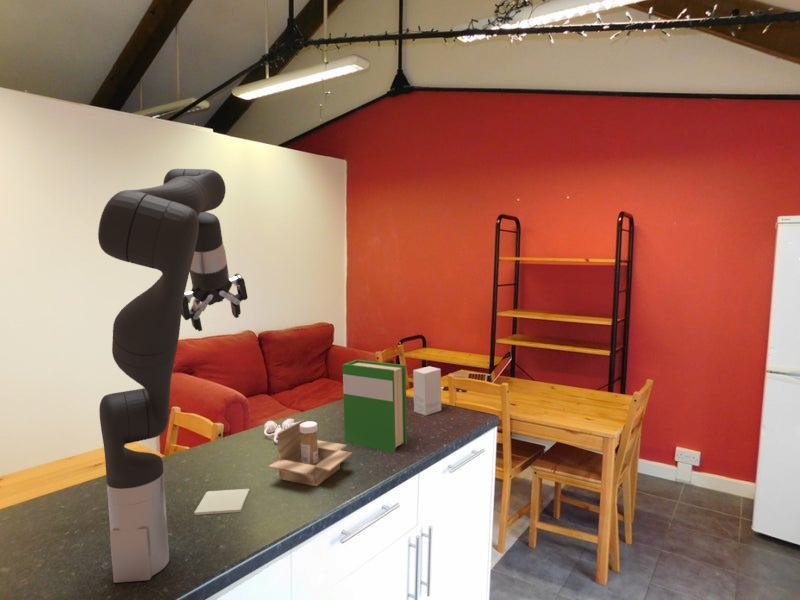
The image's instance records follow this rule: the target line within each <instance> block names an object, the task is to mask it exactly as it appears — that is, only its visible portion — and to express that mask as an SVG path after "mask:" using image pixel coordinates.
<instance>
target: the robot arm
mask: <svg viewBox="0 0 800 600" xmlns="http://www.w3.org/2000/svg"><path fill="white" fill-rule="evenodd" d="M162 183H163V184H161V185H157V186H153V187H148V188H147V187H146V188H140V189H125V190H121V191H119V192H117V193H115V194H113V196H112V197H111V198H110V199H109V200H108V201H107V203H106V204H105V206H104V208H103V211H102V212H101V215H100V216H101V217H100V219H99V224H98V230H97V231H98V234H97V235H98V236H97V240H98V244H99V247H100V249H101V250H102V251H103V252H104V253H105V254H106V255H108V256H110V257H111V258H114V259H117V260H118V261H119V260H120V261H122V262H126V263H130V264H133V265H138V266H142V267H147V268H150V269H154V270H158V271H159V272H161V273H162V274H161V276H160V277H159V278H158V279H157V281H155V283H154V284H152V285H151V286H150V287H149V288H148V289H146V290H145V291H144V292H142V293H140V294H139V295H138V296H136V297H134V298H133V299H132V300H131V301H130V302H128V303H127V304H126V305H125V306H124V307H122V308H121V310H119V312H118V313H117V315H116V317H115V318H114V321H113V325H112V326H113V327H112V345H111V347H112V348H111V352H112V357H113V360H114V362H115V363H116V366H117V367H118V368H119V369H120V371H122V372H123V373H124V374H125V375H126V376H127V377H129V378H130V379H132V381H133V380H134V382H136V383H138V384H139V385H140V386H142V387H143V388H139V389H138V388H137V389H133V390H125V391H119V392H114V393H113V392H112V393H108V394H106V395H104V396H103V397H102V399H101V400H100V403H99V409H98V411H99V424H100V430H101V437H102V444H103V449H104V450H103V451H104V461H105V462H104V463H105V478H106V490H107V491H106V492H107V503H108V505H107V506H108V507H107V508H108V516H109V519H108V520H109V529H110V530H109V531H110V532H109V538H110V539H109V540H110V551H111V565H112V577H113V583H115V584H117V583H127V582H131V583H132V582H141V581H150V580H151V579H152V577H153V576H154V575H156V574H158V573H159V572H161V571H163V570H164V569H165V567H167V566H168V565H169V562H170V552H169V551H170V550H169V549H170V548H169V537H168V523H167V522H168V521H167V508H166V507H167V504H166V492H165V474H164V473H165V472H164V461H163V459H162V457H161V456H160V455H158V454H156V453H151V452H147V451H146V452H145V451H144V452H143V451H135V450H132V449H129V448H127V447H125V445H127V444H130V443H131V444H132V443H137V442H140V441H145V440H150V439H153V438H157V437H159V436H162V434H164V432H165V431H166V430H167V428H168V425H169V424H168V423H169V419H170V402H171V401H170V400H171V398H170V397H171V385H172V384H171V383H172V375H173V369H174V365H175V358H176V357H177V356H176V354H177V351H178V346H179V345H178V344H179V337H180V328H181V320H182V317H183V319H184V320H185V321H189V320H191V326H192V327H193V329H195V331H198V332H201V331H203V327H202V326H203V325H202V322H201V318H200V316H201V314H202V313H203V312H205V310H206V308H207V307H208V306H212V305H214V304H216V303H221V302H223V301H224V299H225V300H227V301H229V302H230V309H231V314H232V316H233V317H234V318H235V319H237V318H239V317H240V315H241V314H242V313H241V302H242V301H246V300H247V299H248V297H249V296H248V291H247V287H246V281H245V279H244V278H243V277H242V276H241V274H239V273H235V274H234V276H233V277H231V278H230V275H229V268H228V260H227V255H226V254H227V253H226V249H225V246H224V242H223V235H222V234H223V233H222V228H221V223H220V222H221V221H220V219H219V218H218V217H217V216H216V215H215V214H214V213H210V211H213V210H215V209H217V208H218V207H219V206H221V204H222V203H224V199H225V196H226V184H225V180H224V179H223V177H222V175H221V174H220V173H219V172H218V171H215V170H214V169H207V168H203V169H202V168H201V169H200V168H173V169H170V170H169V171H167V173H166V174H165V176H164V178H163V182H162ZM189 277H190V281H191V285H192V288H191V290H190V291H186V288H187V283H188V281H189V280H188V279H189ZM233 285H234V286H235V287H236V290H237V294H234V293H233V292H231V291H230V290H231V289H232V286H233ZM193 298H194V299H193ZM192 299H193V301H192ZM191 301H192V305H191V307H189V304H191Z"/></svg>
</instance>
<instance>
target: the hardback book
mask: <svg viewBox="0 0 800 600" xmlns="http://www.w3.org/2000/svg"><path fill="white" fill-rule="evenodd" d="M406 367H407V365H406V364H398V363H390V362H389V363H388V362H381V361H373V360H363V359H354V360H352V361H349V362H346V363H343V364H342V385H343V386H342V388H343V417H344V418H343V420H344V423H343V424H344V425H343V426H344V442H345V443H350V444H354V445H357V446H358V445H359V446H361V447H362V446H363V447H367V448H372V449H375V450H376V449H377V450H381V451H386V452H390V453H395V452H396V451H397V448H398V446H400V445H403V446H406V445H408V432H407V431H408V426H407V425H408V423H407V421H408V419H407V418H408V417H407V416H408V415H407V376H406V375H407V371H406V370H407V369H406Z"/></svg>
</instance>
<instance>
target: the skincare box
mask: <svg viewBox="0 0 800 600" xmlns="http://www.w3.org/2000/svg"><path fill="white" fill-rule="evenodd" d="M441 371H442V369H441V368H439V367H433V366H430V365H429V366H426V367H420V368H416V369H413V372H412V375H413V412H414V413H417V414H419V415H423V416H429V415H431V414H435V413H438V412H441V411H442V381H441V380H442V379H441V378H442V376H441V375H442V374H441Z"/></svg>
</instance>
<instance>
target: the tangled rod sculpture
mask: <svg viewBox="0 0 800 600" xmlns="http://www.w3.org/2000/svg"><path fill="white" fill-rule="evenodd" d="M298 422H299V421H297V422H295V419H294V418H286V419H285V420H284V421H283V422H282V423H281V424H277V423H276V422H275V421H273V420H268V421H266V422H265V423H264V431H263V433H264V435H265V436H266V437H273V442H274V443H275V444H278V433H279V432H281V431H283V430H285V429H287V428H289V427H290V426H292V425H294V424H296V423H298Z"/></svg>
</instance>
